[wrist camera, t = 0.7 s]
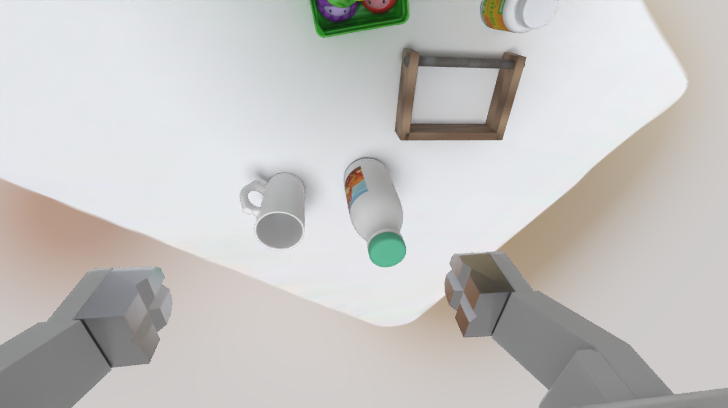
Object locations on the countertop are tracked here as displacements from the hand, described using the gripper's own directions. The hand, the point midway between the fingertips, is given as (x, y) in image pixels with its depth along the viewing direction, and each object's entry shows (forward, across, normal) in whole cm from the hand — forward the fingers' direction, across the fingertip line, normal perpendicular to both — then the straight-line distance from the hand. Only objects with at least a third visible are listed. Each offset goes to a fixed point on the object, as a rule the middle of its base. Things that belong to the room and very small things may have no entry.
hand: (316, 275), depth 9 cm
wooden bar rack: (+42, -21, +5) cm, 47 cm away
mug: (+42, +6, +20) cm, 47 cm away
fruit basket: (+42, -5, -8) cm, 43 cm away
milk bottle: (+42, -8, +19) cm, 47 cm away
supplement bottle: (+42, -25, -7) cm, 50 cm away
